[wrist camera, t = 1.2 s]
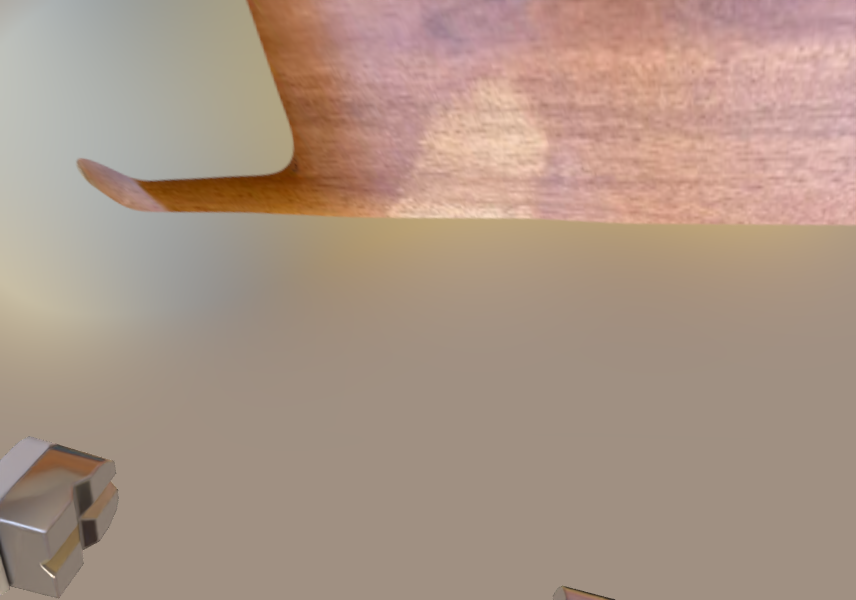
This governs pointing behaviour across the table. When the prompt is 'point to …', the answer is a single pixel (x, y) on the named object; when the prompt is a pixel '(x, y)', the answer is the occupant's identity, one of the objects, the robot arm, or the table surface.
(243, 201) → the table surface
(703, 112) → the table surface
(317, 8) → the table surface
